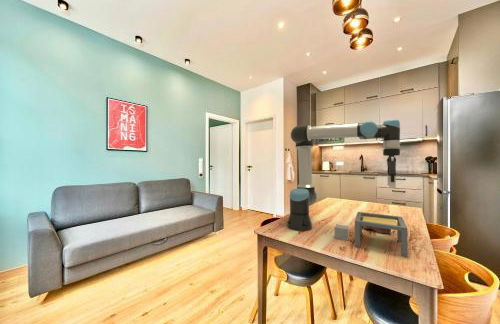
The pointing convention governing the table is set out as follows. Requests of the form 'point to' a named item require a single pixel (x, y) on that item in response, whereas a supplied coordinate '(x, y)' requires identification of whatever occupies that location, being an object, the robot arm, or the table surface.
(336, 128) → the robot arm
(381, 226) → the frame
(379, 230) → the rock
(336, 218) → the table surface
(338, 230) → the grey cube
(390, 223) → the hatch
